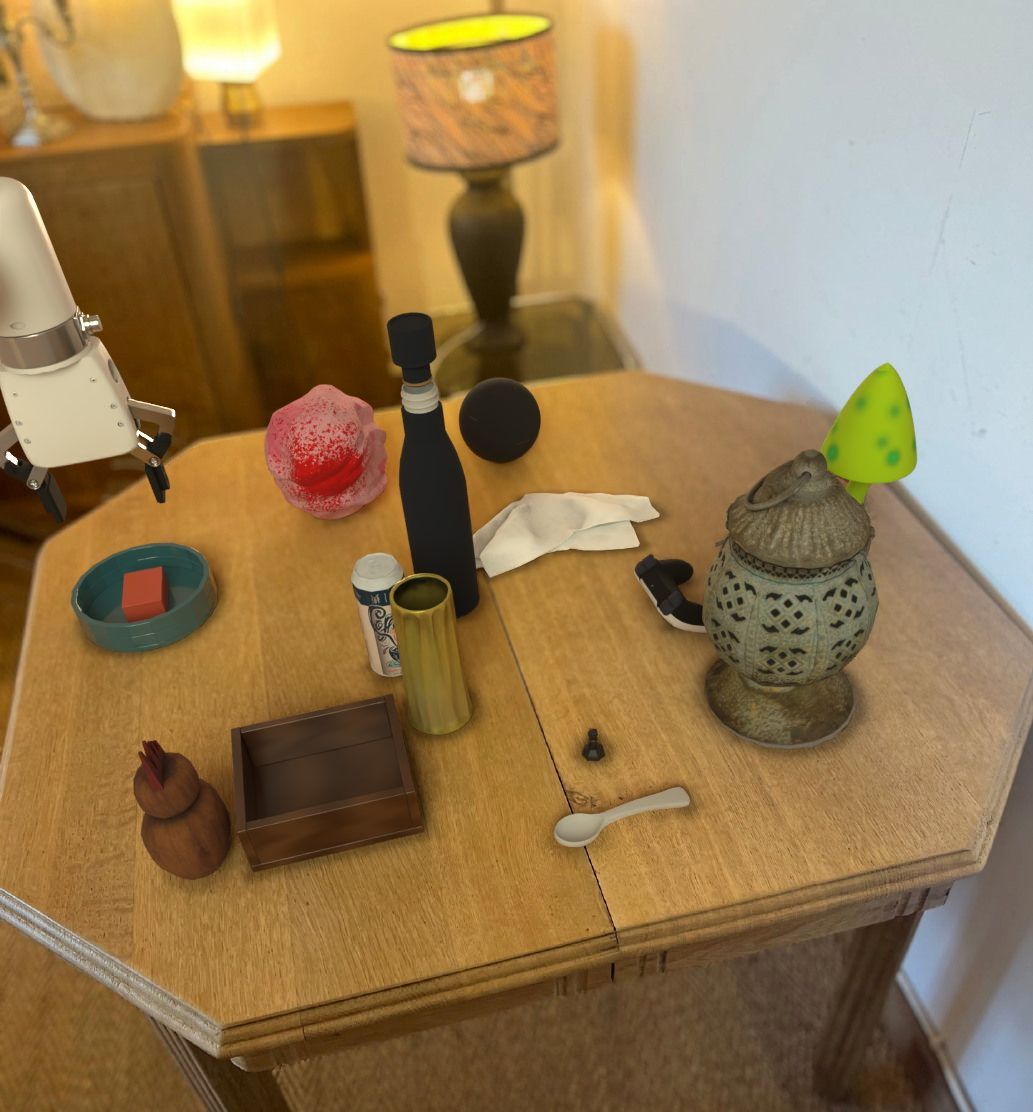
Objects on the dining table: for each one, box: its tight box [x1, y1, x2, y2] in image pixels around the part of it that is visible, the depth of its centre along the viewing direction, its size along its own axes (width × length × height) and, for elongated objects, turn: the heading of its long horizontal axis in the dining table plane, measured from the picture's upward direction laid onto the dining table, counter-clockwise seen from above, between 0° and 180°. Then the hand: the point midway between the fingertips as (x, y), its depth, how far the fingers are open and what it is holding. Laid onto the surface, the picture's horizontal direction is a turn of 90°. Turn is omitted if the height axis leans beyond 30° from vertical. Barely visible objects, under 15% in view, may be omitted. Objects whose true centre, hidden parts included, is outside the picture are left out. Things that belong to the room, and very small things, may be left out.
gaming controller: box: [633, 553, 707, 634], centre depth 98 cm, size 11×4×7 cm
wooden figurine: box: [132, 739, 231, 881], centre depth 75 cm, size 7×6×15 cm
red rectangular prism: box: [122, 567, 169, 623], centre depth 104 cm, size 6×4×2 cm, turn 14°
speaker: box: [458, 377, 542, 464], centre depth 119 cm, size 10×10×10 cm
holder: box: [230, 693, 425, 873], centre depth 82 cm, size 14×12×5 cm
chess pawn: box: [581, 727, 606, 762], centre depth 85 cm, size 2×2×3 cm
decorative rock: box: [264, 383, 389, 520], centre depth 112 cm, size 19×14×15 cm
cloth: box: [472, 491, 660, 579], centre depth 110 cm, size 26×14×2 cm, turn 102°
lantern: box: [702, 449, 880, 750], centre depth 81 cm, size 14×14×25 cm
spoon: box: [553, 786, 691, 848], centre depth 80 cm, size 3×12×2 cm, turn 111°
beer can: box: [350, 552, 406, 678], centre depth 92 cm, size 5×5×12 cm
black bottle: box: [386, 311, 481, 619], centre depth 92 cm, size 6×6×30 cm
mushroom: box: [819, 362, 918, 506], centre depth 91 cm, size 8×8×25 cm
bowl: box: [70, 542, 219, 653], centre depth 104 cm, size 14×14×4 cm
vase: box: [389, 573, 474, 736], centre depth 86 cm, size 6×6×14 cm
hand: (112, 505), depth 96 cm, fingers open, 9 cm apart
